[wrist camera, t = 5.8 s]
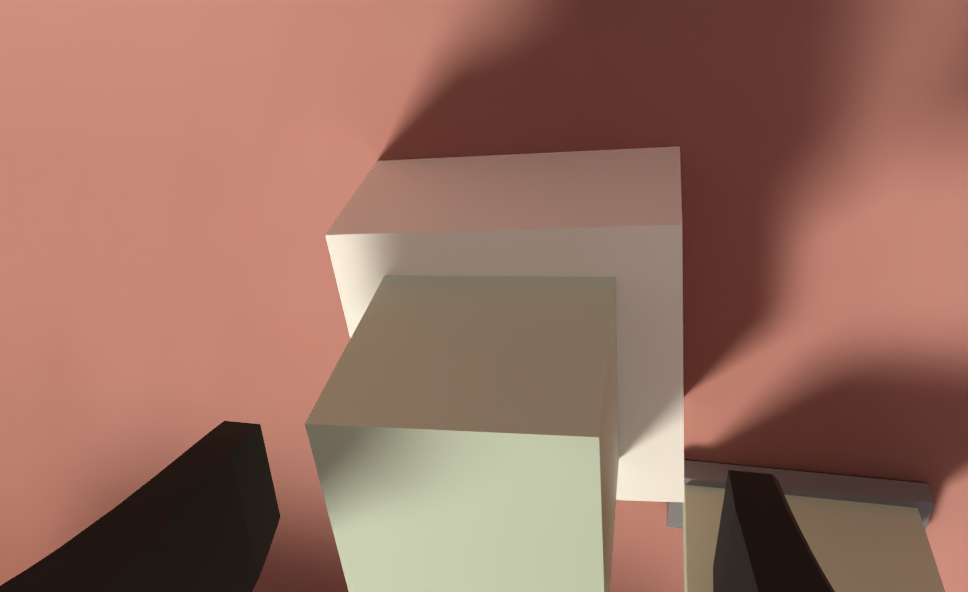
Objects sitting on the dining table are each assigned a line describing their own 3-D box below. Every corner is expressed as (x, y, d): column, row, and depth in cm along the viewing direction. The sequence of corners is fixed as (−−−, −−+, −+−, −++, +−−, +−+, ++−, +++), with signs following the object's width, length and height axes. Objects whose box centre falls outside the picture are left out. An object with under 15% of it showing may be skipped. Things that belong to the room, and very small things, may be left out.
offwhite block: (679, 140, 17) (682, 224, 14) (681, 390, 20) (684, 502, 17) (380, 155, 18) (324, 235, 15) (426, 387, 21) (387, 491, 18)
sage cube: (615, 277, 14) (599, 437, 11) (619, 459, 17) (605, 639, 13) (384, 274, 15) (304, 423, 12) (415, 448, 17) (355, 616, 14)
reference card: (927, 483, 19) (998, 684, 15) (911, 534, 20) (974, 736, 16) (672, 458, 20) (673, 642, 16) (666, 508, 21) (666, 693, 17)
